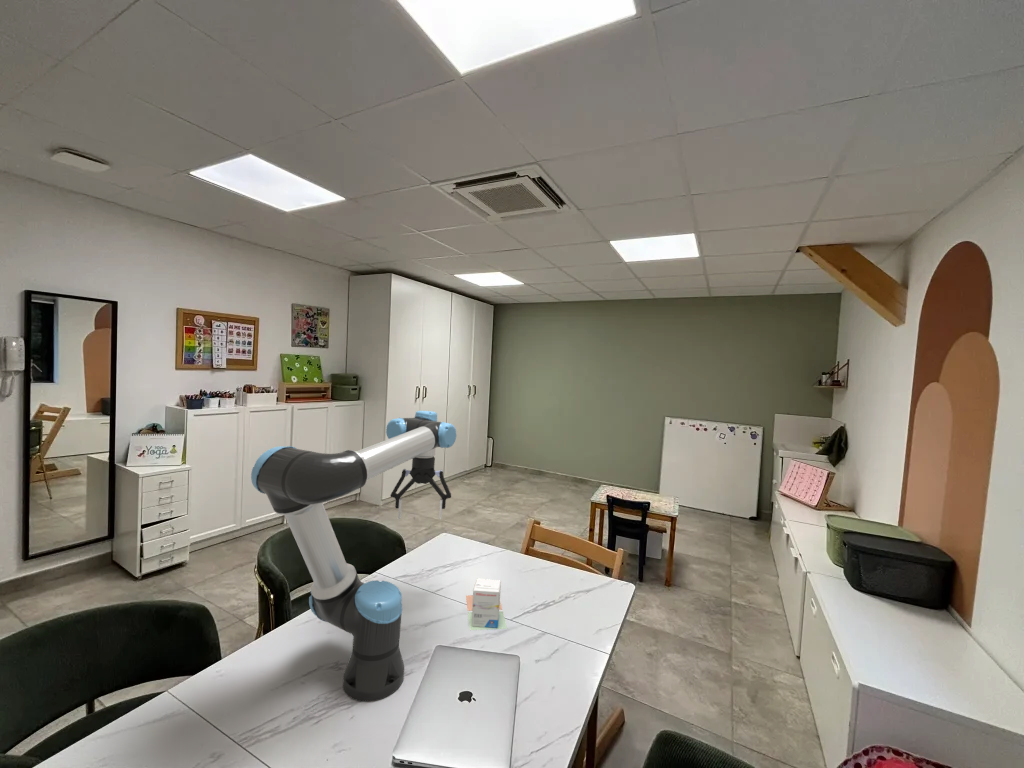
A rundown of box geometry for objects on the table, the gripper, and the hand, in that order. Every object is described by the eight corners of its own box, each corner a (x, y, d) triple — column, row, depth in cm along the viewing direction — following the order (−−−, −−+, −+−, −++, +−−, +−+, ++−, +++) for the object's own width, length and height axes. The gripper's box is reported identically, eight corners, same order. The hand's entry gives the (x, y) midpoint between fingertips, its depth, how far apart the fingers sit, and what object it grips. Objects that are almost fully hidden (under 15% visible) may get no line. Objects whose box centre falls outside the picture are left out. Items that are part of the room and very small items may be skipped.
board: (510, 633, 129) (510, 629, 129) (466, 635, 127) (466, 631, 127) (500, 597, 151) (500, 593, 151) (462, 598, 148) (463, 594, 149)
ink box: (499, 613, 138) (501, 579, 138) (497, 628, 129) (500, 591, 129) (474, 611, 138) (476, 577, 138) (470, 626, 129) (473, 589, 129)
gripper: (459, 455, 145) (456, 514, 145) (387, 452, 141) (383, 514, 141) (460, 459, 138) (456, 521, 137) (384, 456, 133) (380, 521, 133)
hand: (419, 518), depth 139 cm, fingers open, 13 cm apart
